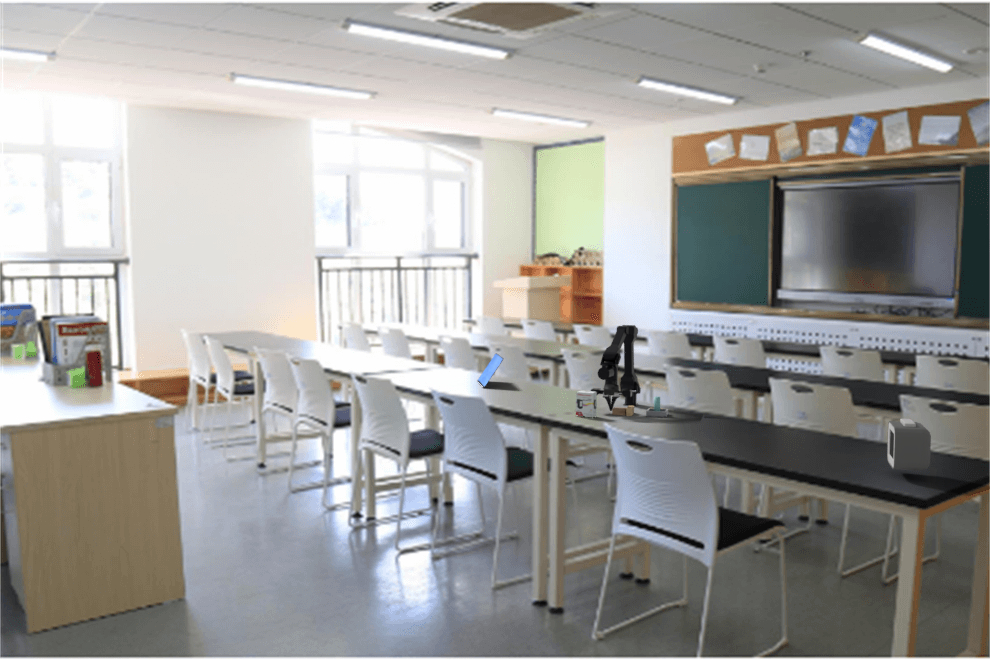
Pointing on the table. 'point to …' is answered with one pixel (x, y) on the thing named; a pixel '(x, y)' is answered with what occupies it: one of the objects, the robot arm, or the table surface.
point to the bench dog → (629, 410)
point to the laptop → (490, 370)
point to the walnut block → (618, 411)
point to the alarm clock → (908, 445)
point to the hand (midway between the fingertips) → (611, 410)
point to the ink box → (586, 403)
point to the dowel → (656, 403)
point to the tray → (656, 413)
